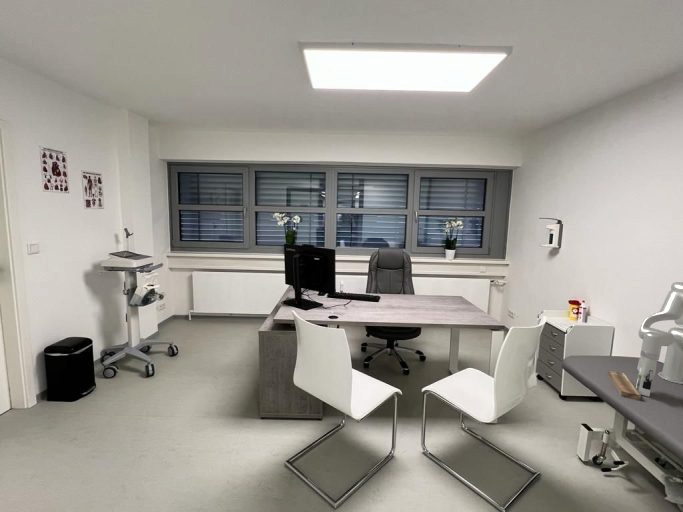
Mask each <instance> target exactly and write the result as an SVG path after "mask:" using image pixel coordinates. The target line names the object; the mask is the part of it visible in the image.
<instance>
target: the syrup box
mask: <svg viewBox="0 0 683 512" xmlns="http://www.w3.org/2000/svg"><path fill="white" fill-rule="evenodd" d="M641 372H642V369H640V372H639V371H638V376H637V381H636V384H635V385H636V386H635V388H636V389H637V391H638V392H639V393H640V395H642V396H645V397H650V395H651V392H652V391H651V390H652V388H653V387H652V386H653V382H654V380H653V381H652V384H651V389H650V390H648V389H644V388H643V382H644V381H645V376H642V375H641ZM647 376H649V375H647ZM647 379H649V378H647Z"/></svg>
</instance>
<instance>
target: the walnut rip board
mask: <svg viewBox="0 0 683 512" xmlns="http://www.w3.org/2000/svg"><path fill="white" fill-rule="evenodd" d="M607 376H608V378H609V377H610V378H609V379H610V381H611V383H612V382H613V383H612V384H613V386H614V387H615V389H616V390H617V392H618V394H619V396H620V397H623V398H627V399H632V400H637V401H638V402H640V401H641V397H642V396H641V394H640V393H639V392H638V391H637V389H636V386H635V385H634V384H633V382H632V380H630V378H629V377H628V375H627V374H626V373H624V372H619V371H613V370H608V372H607Z"/></svg>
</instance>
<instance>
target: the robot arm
mask: <svg viewBox="0 0 683 512" xmlns="http://www.w3.org/2000/svg"><path fill="white" fill-rule="evenodd" d="M670 288H671V289H670V291H668V293H667V294H666V295H667V296H666V297H665V299H664V301H663V304H662V306H661V308H660V310H659V311H657V312H654V313H653V314H649V316H647V317H646V318H645V319H644V320H643V321H642V324H641V325H640V328H639V330H638V337H639V339H641V340H642V344H641V349H640V357H639V358H638V364H637V367H636V368H637V369H636V370H637V371H638V373H639V372H640V369H642V372H641V375H642V376H645V381H644V382H643V388H644V389H648V390H650V389H651V390H652V387H651V384H652V385H653V382H654V379H655V377H656V371H657V365H658V363H657V362H658V361H659V360H660V357H661V350H662V347H666V353H665V356H664V357H665V358H664V362H663V366H662V371H659V372H658V373H657V375H658V377H659V378H661V379H663V380H666V381H668V382H671V383H674V384H679V385H683V282H680V281H674V282H673V283H672V284H671V287H670ZM662 321H665V322H666V321H674V323H675V325H677V326H680V327H676V326H675V327H671V328H670V329H668V332H667V331H664V330H660V329H656V328H653V327H651V326H652V325H653V324H655V323H658V322H662ZM647 375H649V376H647ZM647 378H649V379H647ZM652 381H653V382H652Z"/></svg>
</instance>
